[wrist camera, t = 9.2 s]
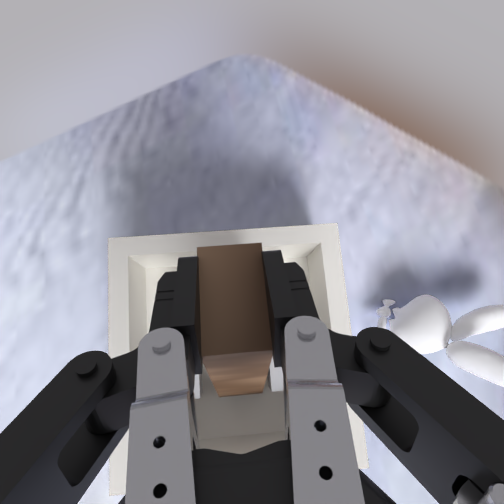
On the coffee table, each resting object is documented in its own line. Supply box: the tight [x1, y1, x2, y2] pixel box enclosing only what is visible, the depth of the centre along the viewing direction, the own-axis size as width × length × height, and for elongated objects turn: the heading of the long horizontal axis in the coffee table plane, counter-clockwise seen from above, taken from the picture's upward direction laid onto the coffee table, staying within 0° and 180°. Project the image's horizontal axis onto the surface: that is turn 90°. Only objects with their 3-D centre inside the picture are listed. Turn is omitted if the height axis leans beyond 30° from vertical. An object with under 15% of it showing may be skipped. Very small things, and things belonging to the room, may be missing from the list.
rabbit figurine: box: [377, 295, 504, 387], centre depth 23 cm, size 6×4×8 cm
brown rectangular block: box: [197, 242, 273, 397], centre depth 18 cm, size 2×4×10 cm, turn 5°
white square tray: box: [108, 223, 369, 496], centre depth 21 cm, size 12×12×5 cm
